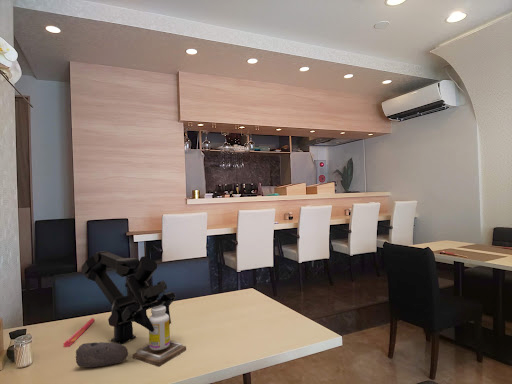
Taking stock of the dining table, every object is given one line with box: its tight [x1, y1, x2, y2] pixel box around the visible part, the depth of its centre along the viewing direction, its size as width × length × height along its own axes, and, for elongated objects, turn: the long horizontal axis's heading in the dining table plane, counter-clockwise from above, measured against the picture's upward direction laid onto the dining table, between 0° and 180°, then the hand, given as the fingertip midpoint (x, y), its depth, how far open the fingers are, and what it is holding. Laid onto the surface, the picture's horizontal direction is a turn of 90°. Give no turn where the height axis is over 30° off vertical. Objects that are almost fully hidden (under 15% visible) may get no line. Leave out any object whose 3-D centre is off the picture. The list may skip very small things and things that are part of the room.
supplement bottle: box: [148, 306, 171, 350], centre depth 107 cm, size 7×7×13 cm
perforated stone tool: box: [75, 341, 129, 368], centre depth 101 cm, size 15×5×7 cm, turn 98°
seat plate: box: [132, 340, 187, 367], centre depth 107 cm, size 12×12×2 cm
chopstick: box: [63, 317, 95, 348], centre depth 126 cm, size 24×2×5 cm
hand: (161, 327), depth 106 cm, fingers closed on supplement bottle, 6 cm apart
